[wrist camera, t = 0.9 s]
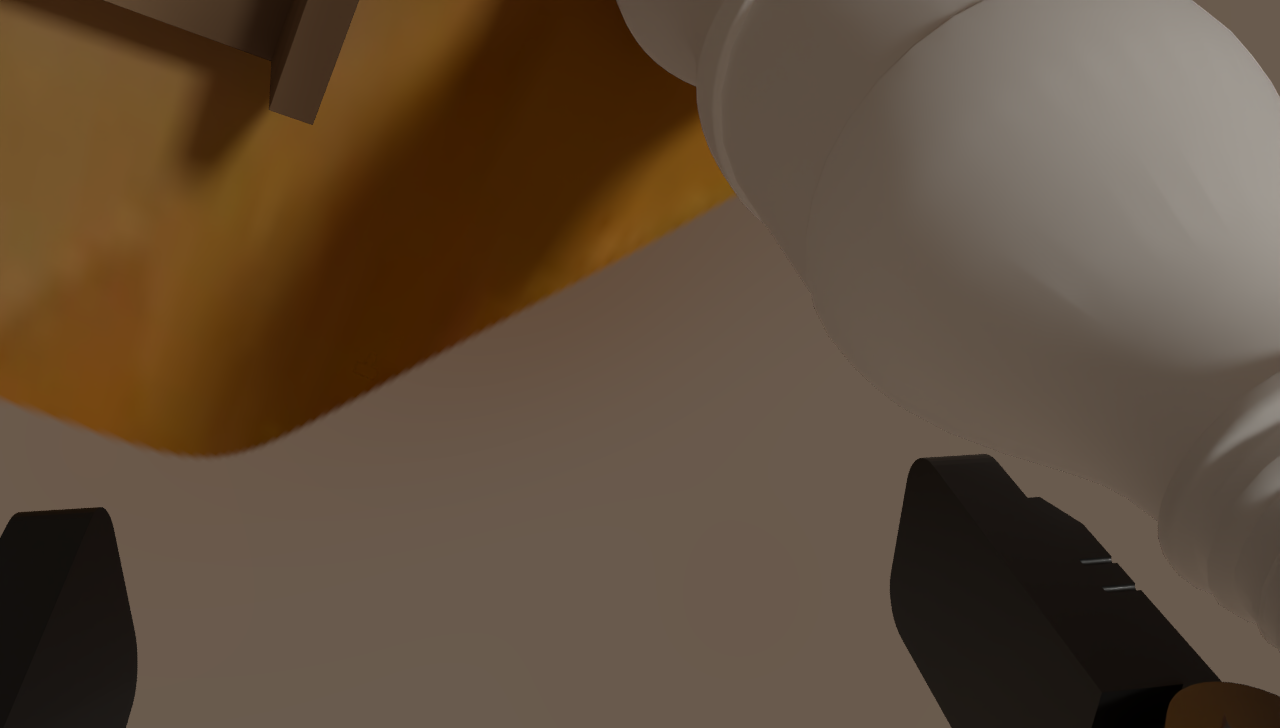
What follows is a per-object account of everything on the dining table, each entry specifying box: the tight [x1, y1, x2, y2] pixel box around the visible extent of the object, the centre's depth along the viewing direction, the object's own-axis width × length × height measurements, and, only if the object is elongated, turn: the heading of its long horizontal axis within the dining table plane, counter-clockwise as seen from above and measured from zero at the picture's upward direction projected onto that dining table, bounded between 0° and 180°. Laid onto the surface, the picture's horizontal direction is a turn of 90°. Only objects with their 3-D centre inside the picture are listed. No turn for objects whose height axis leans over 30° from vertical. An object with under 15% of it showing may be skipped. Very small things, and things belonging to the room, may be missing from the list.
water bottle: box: [616, 0, 1280, 652], centre depth 21 cm, size 7×7×25 cm
